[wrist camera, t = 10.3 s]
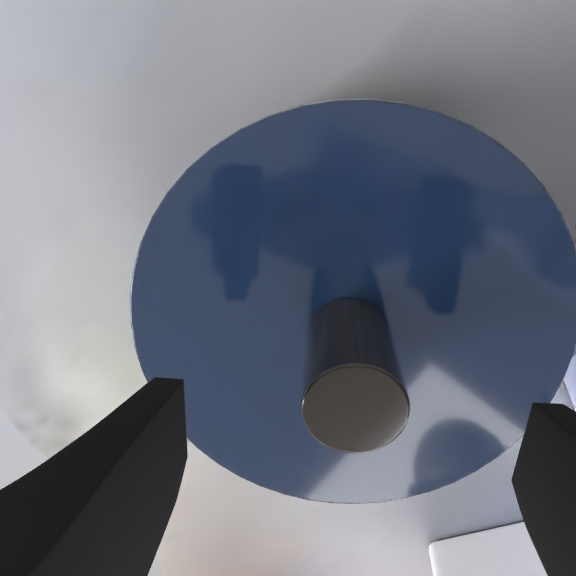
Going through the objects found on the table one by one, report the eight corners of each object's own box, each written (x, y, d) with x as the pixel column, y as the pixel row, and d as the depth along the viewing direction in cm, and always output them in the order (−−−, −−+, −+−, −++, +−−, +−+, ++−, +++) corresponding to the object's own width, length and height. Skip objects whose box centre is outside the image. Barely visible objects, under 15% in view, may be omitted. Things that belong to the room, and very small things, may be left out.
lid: (615, 402, 16) (722, 521, 12) (265, 522, 19) (248, 652, 15) (475, -3, 12) (559, -46, 8) (59, 229, 15) (-47, 291, 11)
